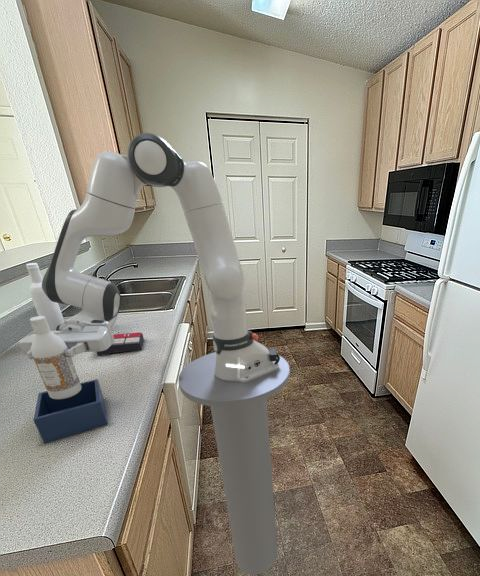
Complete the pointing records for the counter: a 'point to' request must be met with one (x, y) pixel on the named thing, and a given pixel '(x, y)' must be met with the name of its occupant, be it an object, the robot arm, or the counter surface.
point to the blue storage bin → (70, 412)
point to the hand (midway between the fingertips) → (49, 355)
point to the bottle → (43, 299)
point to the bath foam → (53, 361)
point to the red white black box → (125, 343)
